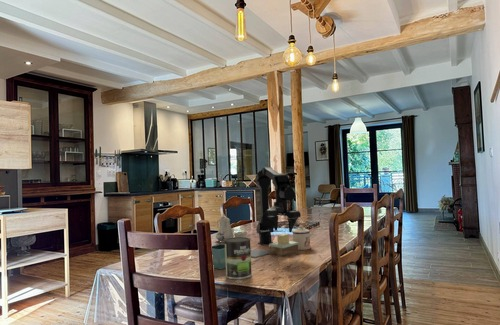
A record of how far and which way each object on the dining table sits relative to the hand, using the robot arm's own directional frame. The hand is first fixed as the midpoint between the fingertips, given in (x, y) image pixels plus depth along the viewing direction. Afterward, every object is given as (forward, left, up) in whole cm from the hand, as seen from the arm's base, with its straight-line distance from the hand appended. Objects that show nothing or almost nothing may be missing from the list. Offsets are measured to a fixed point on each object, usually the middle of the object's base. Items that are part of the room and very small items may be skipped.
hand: (283, 231), depth 165 cm
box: (0, 0, -11) cm, 11 cm away
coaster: (-11, -9, -11) cm, 18 cm away
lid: (0, 0, -7) cm, 7 cm away
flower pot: (-6, -35, -11) cm, 37 cm away
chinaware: (-50, +7, -11) cm, 52 cm away
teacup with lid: (0, +15, -11) cm, 19 cm away
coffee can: (+9, -38, -11) cm, 41 cm away
